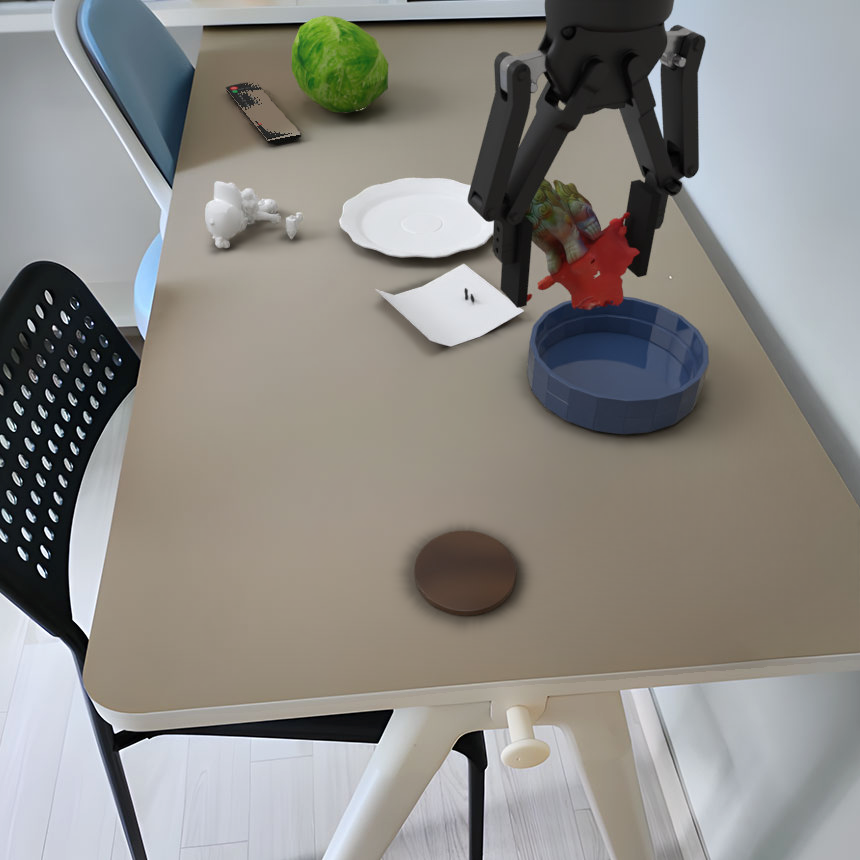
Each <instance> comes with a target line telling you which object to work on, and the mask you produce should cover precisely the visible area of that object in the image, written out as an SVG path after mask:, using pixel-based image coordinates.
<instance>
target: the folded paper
mask: <svg viewBox="0 0 860 860" xmlns="http://www.w3.org/2000/svg"><path fill="white" fill-rule="evenodd" d="M374 290H375V291H376V292H377V293H379V295H381V297H383V298H384V299H385V300H386V301H387V302H388V303H389V304H390V305H391V306H392V307H393V308H395V310H397V311H398V312H399V314H401V315H402V316H403V317H404V318H405V319H407V321H408V322H410V323H411V324H412V325H413V326H414V327H415V328H416V329H417V330H418V331H419V332H420V333H421V334H423V335H424V336H425V337H426V338H427V339H428V340H429V341H430V342H434V343H436V344H440V345H443V346H448V347H451V348H452V347H454V346H456V345H460V344H462V343H465V342H468V341H471V340H474V339H477V338H480V337H482V336H484V335H485V334H487V333H489V332H491V331H492V330H494V329H496V328H498V327H500V326H501V325H503V324H504V323H506V322H508V321H510V320H512V319H513V318H515V317H516V316H518V315H521V313H523V312H525V310H524V309H523V308H522V307H519V308H517V307H516V306H515V305H514V304H513V303H512V301H511V300H510V299H509V298H508V297H507V296H506V295H505V294H504V293H503V292H501V291H500V290H499V289H497V288H496V287H494V286H493V285H492V284H491V283H490V282H488V281H487V280H486V279H484V278H483V277H481V276H480V274H478V273H477V272H475V271H474V270H473V269H471V268H470V267H469V266H468V265H466V264H465V263H461V265H459V266H456V267H455V268H453V269H451V270H449V271H447V272H446V273H444V274H442V275H440V276H438V277H437V278H435V279H433V280H431V281H429V282H428V283H426V284H424V285H422V286H419V287H416V288H412V289H409V290H406V291H403V292H400V293H396V294H392V293H390V292H386V291H383V290H380V289H377V288H374Z"/></svg>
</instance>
